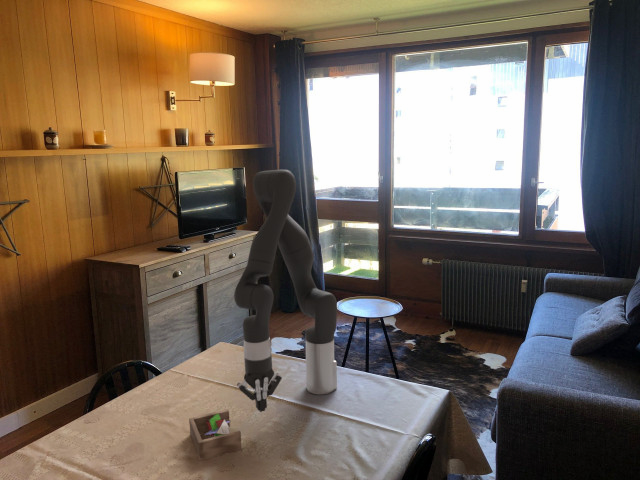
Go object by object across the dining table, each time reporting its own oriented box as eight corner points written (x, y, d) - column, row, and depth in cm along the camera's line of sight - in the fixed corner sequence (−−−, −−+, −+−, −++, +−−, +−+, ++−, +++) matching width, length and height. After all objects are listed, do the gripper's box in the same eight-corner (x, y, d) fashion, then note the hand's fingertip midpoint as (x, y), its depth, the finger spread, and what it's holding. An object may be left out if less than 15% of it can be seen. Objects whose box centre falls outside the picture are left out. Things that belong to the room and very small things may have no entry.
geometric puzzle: (194, 433, 141) (207, 415, 138) (210, 420, 147) (222, 403, 144) (212, 452, 140) (226, 435, 136) (227, 439, 146) (240, 422, 142)
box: (228, 425, 149) (228, 409, 148) (241, 449, 137) (240, 432, 136) (190, 434, 144) (189, 418, 143) (200, 460, 133) (198, 443, 132)
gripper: (275, 343, 148) (278, 398, 152) (230, 353, 143) (235, 410, 147) (285, 353, 142) (288, 410, 146) (238, 364, 136) (243, 423, 140)
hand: (261, 410), depth 146 cm, fingers closed
